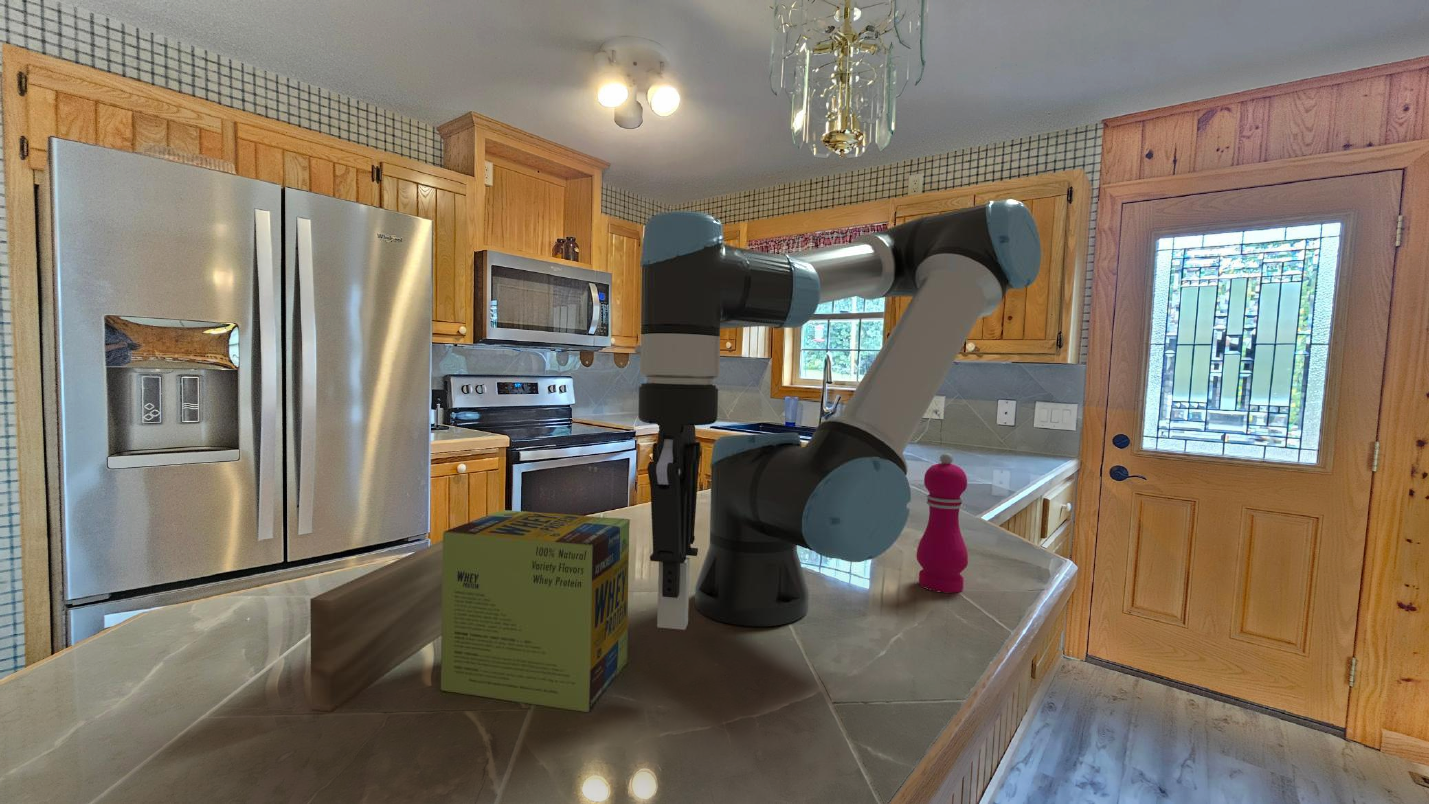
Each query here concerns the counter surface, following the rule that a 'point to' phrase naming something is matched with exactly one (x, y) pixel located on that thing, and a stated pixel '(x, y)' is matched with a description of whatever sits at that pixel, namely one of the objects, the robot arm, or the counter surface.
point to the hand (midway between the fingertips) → (672, 625)
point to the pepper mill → (943, 529)
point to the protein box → (535, 607)
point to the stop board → (373, 625)
